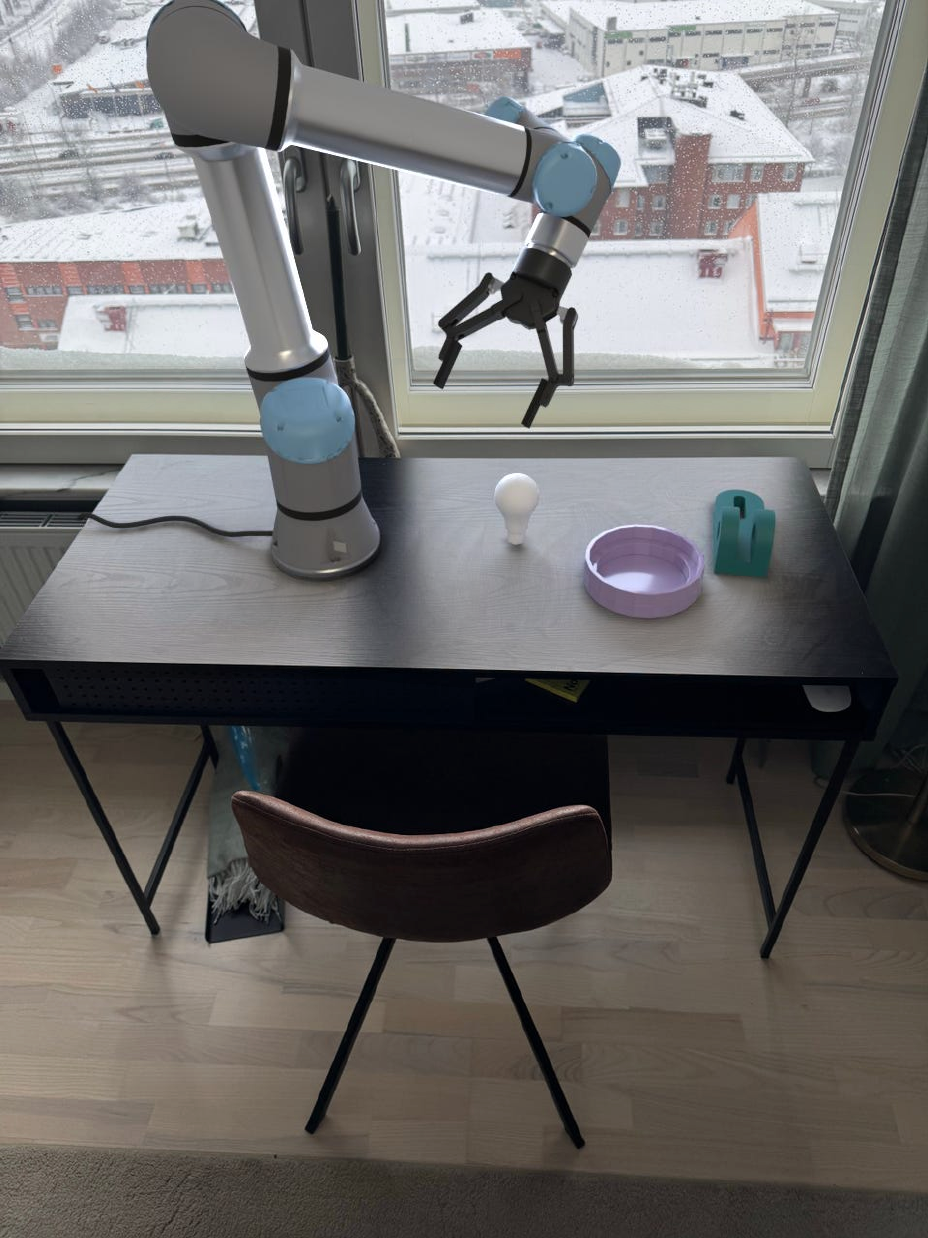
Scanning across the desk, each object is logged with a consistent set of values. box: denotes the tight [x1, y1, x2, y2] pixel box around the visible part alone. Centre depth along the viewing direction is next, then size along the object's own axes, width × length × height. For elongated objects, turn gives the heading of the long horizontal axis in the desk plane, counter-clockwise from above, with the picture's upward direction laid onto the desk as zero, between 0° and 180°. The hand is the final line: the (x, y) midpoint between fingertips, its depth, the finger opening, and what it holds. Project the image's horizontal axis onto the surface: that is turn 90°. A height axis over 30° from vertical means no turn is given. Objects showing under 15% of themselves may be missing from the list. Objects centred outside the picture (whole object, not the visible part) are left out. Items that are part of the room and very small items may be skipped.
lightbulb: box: [493, 472, 540, 546], centre depth 128 cm, size 6×6×11 cm
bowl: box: [583, 524, 706, 619], centre depth 122 cm, size 15×15×4 cm
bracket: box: [713, 489, 777, 579], centre depth 129 cm, size 18×7×8 cm, turn 169°
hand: (480, 406), depth 127 cm, fingers open, 13 cm apart
